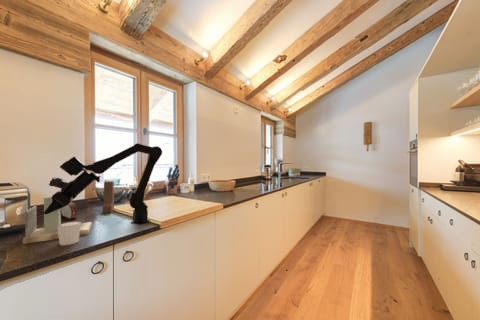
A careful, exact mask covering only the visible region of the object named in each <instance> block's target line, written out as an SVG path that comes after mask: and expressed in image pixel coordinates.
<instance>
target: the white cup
mask: <svg viewBox="0 0 480 320" xmlns="http://www.w3.org/2000/svg"><path fill="white" fill-rule="evenodd" d="M80 223H82V222H81V221H69V222H64V223H61V224H60V225H58V226H57V227H58V234H59V239H58V241H59V245H60V246H69V245H70V246H71V245H73V244H77V243H78V242H79V240H80V235H79V232H80Z"/></svg>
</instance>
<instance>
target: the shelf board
mask: <svg viewBox="0 0 480 320" xmlns="http://www.w3.org/2000/svg"><path fill="white" fill-rule="evenodd" d="M24 213H25V219H24V220H25V222H24V223H25V236H24V237H23V238H22V244H23V245H26V244H31V243H39V242H46V241H52V240H57V239H58V240H59V234H58V230H57V231H50V232H44V227H41V228H37V221H38V220H37V205H35V206H34V205H33V206H31V207H30V208H28V209H27V210H25V212H24ZM92 225H93V224H92V221H88V222H81V223H80V232H79V236H85V235H89V234H90V232H91V229H92Z"/></svg>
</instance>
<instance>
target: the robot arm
mask: <svg viewBox="0 0 480 320" xmlns="http://www.w3.org/2000/svg"><path fill="white" fill-rule="evenodd" d="M138 152H139V153H142V154H145V155H147V159H146V164H145V166H144V169H143V171H142V174H141V176H140V179H139V182H138V184H137V186H136V188H135V190H134V191H133V190H130V195H129V197H128V202H129V203H128V204H129V206H130V207H131V208H132V209H133V210H132V211H133V212H132V221H130V223H131V224H136V225H142V224H145V223H147V222H150V221H149V220H150V219H148V217H149V216H148V213H149V212H148V204H146V202H144V200H145V191H146V188H147V186H148V183H149V180H150V178H151V176H152V173H153V170H154V167H155V166H156V164H157V163H158V161H159V160H160V158H161V156H162V154H163V150H162V148H161V147H159V146H156V145H155V146H148V145H146V144H145V145H144V144H141V143H134V145H132V146H130V147H128V148H126V149H124V150H122V151H120V152H118V153H116V154H114V155H112V156H109V157H106V158H103V159H100V160H98V161H95V162H92V164H88V163H87V164H84V163H83V162H81V161H80V160H79V159H78V157H76V156H72V157H71V158H70V159H68V160H66V161H65V162H63V163H62V164H61V165H60V166H59V168H60V169H61V170H62V171H64V172H65V173H66V174H68V175H69V176H71V177H72V176H75V177H76V176H77V177H76V178H74V179H73V180H70V181H67V180H66V179H63V178H59V177H52V178H51V180H50V182H49V184H48V186H50V187H55V188H58V189H60V191H57V192H55V193H54V194H52V195H51V196H52V203H51V204H50V205H49V207H48V208H47V209H46V210H45V212H44V211H43V215H44V214H49V213H51V212H53V211H55V210H58V209H60V208H63V207H65V206H67V205H68V204H69V203H70V202H72V201H73V200H75V199H76V198H77V197H78V196H79V195H80V194H81V193H82V192H83V191H84V190H85V189H87V187H89V186H90V185H91V184H93V182H94V181H96V182H97V183H99V182H101V176H100V174H103V173H105V172H107V170H109V169H110V168H111V167H112V166H114V165H115V164H117V163H119V162H122V161H123V160H125V159H126V158H128V157H130V156H132V155H134V154H137V153H138ZM89 171H90V172H89ZM96 174H97V175H96Z"/></svg>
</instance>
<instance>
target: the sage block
mask: <svg viewBox="0 0 480 320" xmlns="http://www.w3.org/2000/svg"><path fill="white" fill-rule="evenodd" d="M52 196H53V195H50V196H49V195H47V196H45V197H43V228H44V232H50V231H57V230H58V227H57V226H58V225H60V224H62V218H61V217H62V216H61V215H62V213H61V208H60V209H58V210H55V211H53V212H51V213H49V214H44V212H45V210H46V209H47V208H48V207H49V205H50V204H51V203H52Z"/></svg>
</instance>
